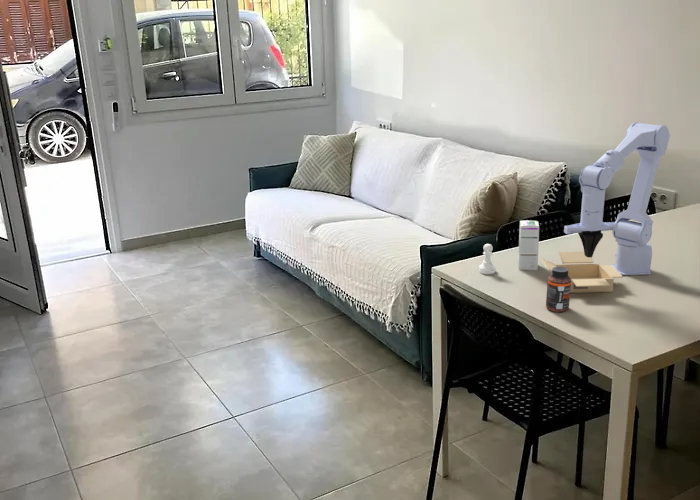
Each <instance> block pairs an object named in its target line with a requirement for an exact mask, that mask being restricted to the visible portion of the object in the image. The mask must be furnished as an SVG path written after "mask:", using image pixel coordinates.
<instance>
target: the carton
mask: <svg viewBox="0 0 700 500" xmlns="http://www.w3.org/2000/svg"><path fill="white" fill-rule="evenodd" d="M555 265H556V267H565V268H567V269H568V276H569V277H570V278H571V290H570V294H583V293H584V294H585V293H586V294H589V293H591V294H592V293H613V290H614V280H615V279H616V278H617V279H618V278H624V277H623V276H624V275H621V274H620V273H619V272H618V271H617V270H616V269H615V268H614V267H613V266H612V265H611V264H608V265H607V264H606V265H604V264H603V265H601V264H600V263H568V264H555ZM550 273H551V274H552V272H551V271H550ZM551 274H550V275H551Z"/></svg>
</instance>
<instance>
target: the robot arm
mask: <svg viewBox="0 0 700 500" xmlns="http://www.w3.org/2000/svg"><path fill="white" fill-rule="evenodd" d="M625 135H626V136H625V137H624V138H623V140H622V141H621V142H620V143H619V144H618V145H617V147H616V148H614V149H608V150H607V151H605V153H604V154H602V155H601V157H599V158H598V160H596V161H595V162H594V163H593V164H592V165H587V166H585V167H584V168H582V170H581V172H580V174H579V177H578V182H579V184H580V191H581V193H582V198H581V209H580V211H581V212H580V222H579V223H574V224H573V223H572V224H570V225H564V227H563V228H564V229H563V233H565V234H566V235H571V234H578V236H579V238H580V240H581V244H582V246H583V248H582V249H583V252H584V254H585V256H586V257H592V258H593V255H594V253H595V251H596V248H597V246H598V244H599V243H600V242H601V240H602V239H603V237H604V233H602V232H607V231H611V234H612V236H613V238H614V240H615V242H617V246H616V254H615V263H614V264H610V265H612V266H613V267H614V268H615V269H616V270H617V271H618V272H619V273H620V274H621V275H622V276H636V275H637V276H640V275H641V276H642V275H644V276H645V275H651V274H652V273H651V267H652V266H651V264H652V257H653V249H652V244H650V243H649V242H650V240H651V237H652V235H653V224H654V221H653V219H652V218H651V217H650V216H649V215H648V213H647V209H648V205H649V202H650V197H651V194H652V191H653V186H654V182H655V179H656V176H657V172H658V168H659V165H660V160H661V157H662V156H665V155H666V152H667V149H668V148H667V147H668V144H669V142H670V137H671V134H670V130H669V128H668V127H667V125H665V124H663V125H662V124H661V125H660V124H650V123H643V122H642V123H641V122H636V121H635V122H632V123H631V124H630V126H629V127H628V128H627V130H626V134H625ZM633 152H637V153H638V154H639V156H640V161H639V163H638V168H637V172H636V176H635V179H634V183H633V187H632V191H631V194H630V198H629V202H628V205H627V209H626V210H623V211H620V213H618V214H617V218H616V220H615V221H611V222H610V221H609V222H606V221H605V222H604V221H603V220H604V219H603V218H604V210H605V207H604V206H605V198H606V196H605V195H606V190H607V188H609V186H610V184H611V182H612V179H613V178H614V175H615V173H616V172H618V171H619V170H620V169H621V168H622V167H623V166H624V165H625V159H626V158H627V157H628V156H630V155H631V154H632V153H633Z"/></svg>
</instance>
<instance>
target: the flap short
mask: <svg viewBox="0 0 700 500" xmlns="http://www.w3.org/2000/svg"><path fill="white" fill-rule="evenodd" d="M558 254H559V257H560V261H561V263H562V264H561V265H566V264H594V260H593V256H592V257H586V256H585V254H584V251H559V253H558Z"/></svg>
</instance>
